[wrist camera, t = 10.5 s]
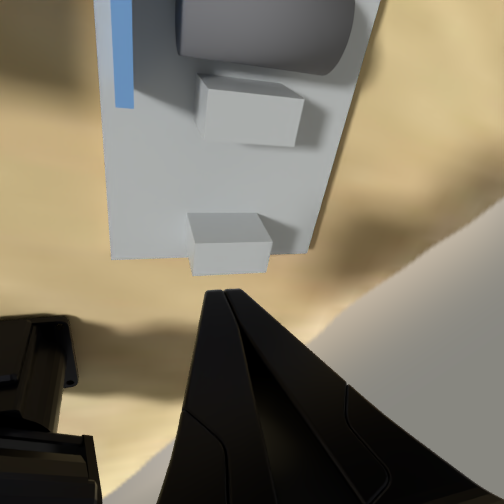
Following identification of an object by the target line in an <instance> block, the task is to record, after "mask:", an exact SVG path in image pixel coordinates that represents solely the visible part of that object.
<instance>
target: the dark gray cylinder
mask: <svg viewBox="0 0 504 504" xmlns="http://www.w3.org/2000/svg"><path fill="white" fill-rule="evenodd" d="M354 12H355V0H176V2H175V34H176V47H177V52H178V55H180V56H187V57H194V58H201V59H208V60H215V61H222V62H229V63H236V64H243V65H250V66H257V67H264V68H272V69H279V70H286V71H293V72H300V73H307V74H314V75H321V76H323V75H327V74H328V73H330V72H331V71H332V70H333V69H334V68H335V67H336V65H337V64H338V62H339V61H340V59H341V57H342V55H343V53H344V51H345V48H346V46H347V43H348V40H349V37H350V34H351V30H352V25H353V20H354Z"/></svg>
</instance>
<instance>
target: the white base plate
mask: <svg viewBox="0 0 504 504" xmlns="http://www.w3.org/2000/svg"><path fill="white" fill-rule="evenodd" d="M175 2H176V0H94V15H95V29H96V44H97V58H98V73H99V88H100V102H101V117H102V131H103V146H104V160H105V175H106V190H107V204H108V219H109V233H110V248H111V260H124V259H154V258H183V257H188V259H189V263H190V267H191V272H192V276H203V275H223V274H244V273H264V272H266V270H267V266H268V261H269V257H270V255H272V254H301V253H307V252H308V248H309V245H310V241H311V238H312V234H313V231H314V228H315V224H316V221H317V217H318V214H319V210H320V207H321V203H322V200H323V197H324V193H325V190H326V186H327V183H328V179H329V176H330V172H331V169H332V166H333V162H334V159H335V155H336V152H337V148H338V145H339V141H340V138H341V135H342V131H343V128H344V124H345V121H346V117H347V114H348V110H349V107H350V104H351V100H352V97H353V93H354V90H355V86H356V83H357V79H358V76H359V73H360V69H361V66H362V62H363V59H364V55H365V52H366V49H367V45H368V42H369V38H370V35H371V31H372V28H373V24H374V21H375V18H376V14H377V11H378V7H379V4H380V0H355V12H354V20H353V25H352V30H351V34H350V37H349V40H348V43H347V46H346V48H345V51H344V53H343V55H342V57H341V59H340V61H339V62H338V64H337V65H336V67H335V68H334V69H333V70H332V71H331V72H330V73H328V74H327V75H323V76H321V75H314V74H307V73H300V72H293V71H286V70H279V69H272V68H264V67H257V66H250V65H243V64H236V63H229V62H222V61H215V60H208V59H201V58H194V57H187V56H180V55H178V52H177V47H176V34H175Z"/></svg>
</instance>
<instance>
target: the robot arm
mask: <svg viewBox="0 0 504 504" xmlns="http://www.w3.org/2000/svg"><path fill="white" fill-rule="evenodd" d="M58 324H62V325H58ZM78 378H79V376H78V370H77V364H76V358H75V352H74V346H73V340H72V334H71V328H70V322H69V320H68V319H67V318H66V317H61V316H58V317H45V318H32V319H18V320H5V321H0V504H102V492H101V486H100V479H99V473H98V467H97V460H96V454H95V447H94V441H93V436H90V435H82V436H76V435H68V434H59V433H57V428H58V421H59V414H60V408H61V401H62V394H63V388H68V387H73V386H76V385H77V384H78ZM156 504H504V499H502V498H500V497H498V496H496V495H494V494H492V493H490V492H489V491H487V490H485V489H484V488H482V487H481V486H479V485H478V484H476V483H475V482H473V481H472V480H470V479H469V478H468V477H466V476H465V475H464V474H462V473H461V472H460V471H458V470H457V469H456V468H454V467H453V466H451V465H450V464H449V463H448V462H446V461H445V460H443V459H442V458H440V457H439V456H438V455H437V454H435V453H434V452H432V451H431V450H430V449H429V448H427V447H426V446H425V445H423V444H422V443H420V442H419V441H418V440H417V439H415V438H414V437H413V436H411V435H410V434H409V433H407V432H406V431H405V430H404V429H402V428H401V427H400V426H398V425H397V424H396V423H394V422H393V421H392V420H391V419H389V418H388V417H387V416H386V415H384V414H383V413H382V412H381V411H379V410H378V409H377V408H376V407H375V406H374V405H372V404H371V403H370V402H369V401H368V400H366V399H365V398H364V397H363V396H362V395H361V394H360V393H358V392H357V391H356V390H355V389H354V388H353V387H351V386H350V385H347V384H346V381H345V380H343V379H342V378H341V377H340V376H339V375H338V374H337V373H336V372H334V371H333V370H332V369H331V368H330V367H329V366H327V365H326V364H325V363H324V362H323V361H322V360H321V359H320V358H319V357H317V356H316V355H315V354H314V353H313V352H312V351H310V350H309V349H308V348H307V347H306V346H305V345H304V344H303V343H302V342H301V341H299V340H298V339H297V338H296V337H295V336H294V335H293V334H291V333H290V332H289V331H288V330H287V329H286V328H285V327H284V326H282V325H281V324H280V323H279V322H278V321H277V320H276V319H275V318H273V317H272V316H271V315H270V314H269V313H268V312H267V311H265V310H264V309H263V308H262V307H261V306H260V305H259V304H258V303H256V302H255V301H254V300H253V299H252V298H251V297H250V296H249V295H247V294H246V293H245V292H244V291H243V290H241V289H225V290H224V291H222V290H208V291H206V292H205V295H204V300H203V305H202V310H201V315H200V320H199V326H198V331H197V336H196V341H195V346H194V351H193V356H192V361H191V366H190V371H189V376H188V381H187V386H186V391H185V396H184V401H183V406H182V412H181V415H180V420H179V425H178V430H177V435H176V439H175V443H174V448H173V452H172V456H171V460H170V463H169V466H168V469H167V472H166V476H165V479H164V483H163V485H162V489H161V492H160V494H159V497H158V501H157V503H156Z"/></svg>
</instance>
